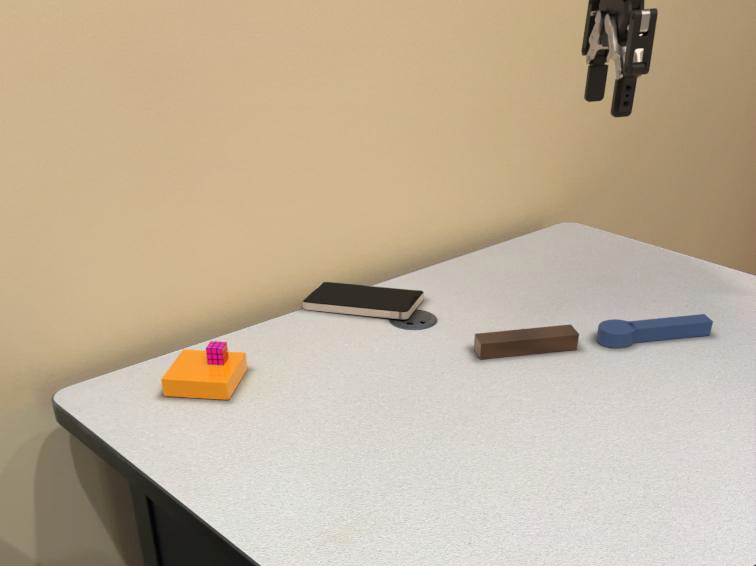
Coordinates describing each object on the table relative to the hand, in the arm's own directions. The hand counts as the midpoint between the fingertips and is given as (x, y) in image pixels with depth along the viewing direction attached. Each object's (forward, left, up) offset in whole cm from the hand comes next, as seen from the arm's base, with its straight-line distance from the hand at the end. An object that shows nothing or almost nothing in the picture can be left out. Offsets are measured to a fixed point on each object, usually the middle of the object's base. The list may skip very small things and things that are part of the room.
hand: (606, 108), depth 104 cm
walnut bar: (+11, +13, -23) cm, 28 cm away
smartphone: (+28, -6, -23) cm, 37 cm away
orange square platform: (+50, +13, -23) cm, 57 cm away
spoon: (-5, +13, -23) cm, 27 cm away
